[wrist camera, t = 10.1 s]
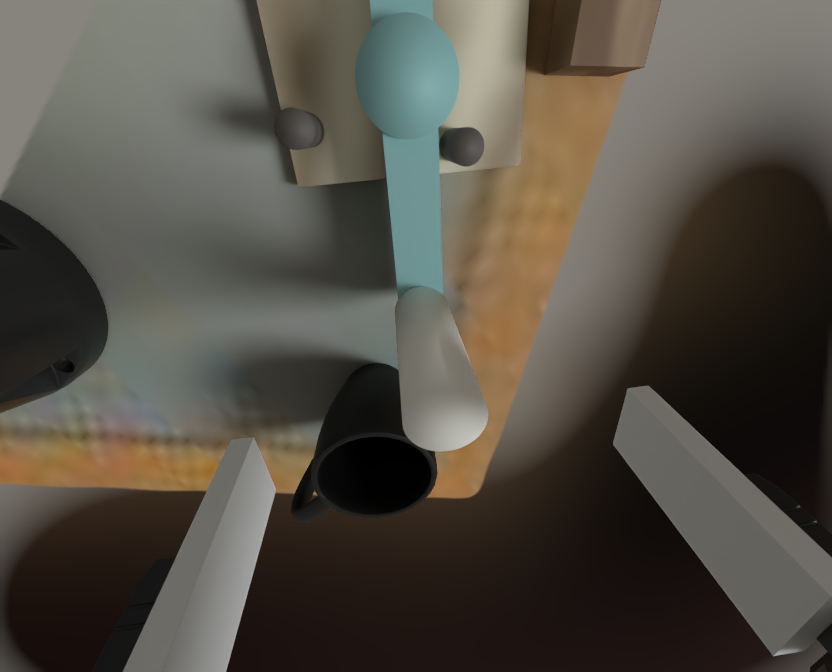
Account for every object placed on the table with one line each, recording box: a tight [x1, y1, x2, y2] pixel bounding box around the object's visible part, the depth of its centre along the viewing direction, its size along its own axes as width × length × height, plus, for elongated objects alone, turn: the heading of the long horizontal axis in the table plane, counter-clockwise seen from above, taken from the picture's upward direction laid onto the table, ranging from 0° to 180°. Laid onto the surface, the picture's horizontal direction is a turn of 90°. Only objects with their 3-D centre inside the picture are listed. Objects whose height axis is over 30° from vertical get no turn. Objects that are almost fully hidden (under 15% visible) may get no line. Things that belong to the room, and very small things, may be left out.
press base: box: [256, 0, 529, 187], centre depth 19 cm, size 14×11×5 cm
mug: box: [291, 364, 437, 523], centre depth 28 cm, size 8×12×10 cm
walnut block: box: [545, 0, 661, 77], centre depth 19 cm, size 4×4×4 cm
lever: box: [355, 0, 488, 451], centre depth 15 cm, size 5×21×13 cm, turn 4°
